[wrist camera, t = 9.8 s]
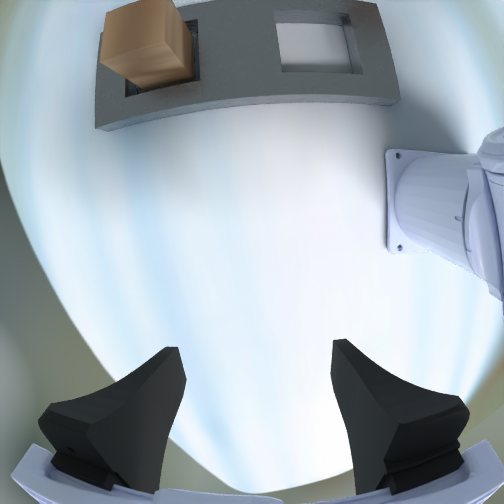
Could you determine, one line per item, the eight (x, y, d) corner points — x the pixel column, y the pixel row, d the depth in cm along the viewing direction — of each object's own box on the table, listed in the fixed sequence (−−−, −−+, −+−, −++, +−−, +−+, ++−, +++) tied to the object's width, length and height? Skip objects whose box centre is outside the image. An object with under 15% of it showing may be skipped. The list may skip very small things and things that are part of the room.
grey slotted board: (368, 14, 15) (376, 3, 13) (389, 106, 17) (400, 100, 15) (111, 41, 16) (100, 33, 14) (108, 131, 18) (95, 128, 16)
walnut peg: (194, 39, 16) (167, -8, 10) (195, 80, 17) (164, 41, 11) (146, 50, 17) (106, 12, 10) (146, 91, 18) (99, 61, 11)
